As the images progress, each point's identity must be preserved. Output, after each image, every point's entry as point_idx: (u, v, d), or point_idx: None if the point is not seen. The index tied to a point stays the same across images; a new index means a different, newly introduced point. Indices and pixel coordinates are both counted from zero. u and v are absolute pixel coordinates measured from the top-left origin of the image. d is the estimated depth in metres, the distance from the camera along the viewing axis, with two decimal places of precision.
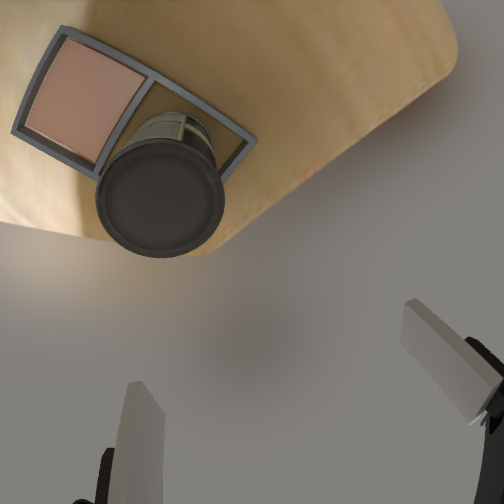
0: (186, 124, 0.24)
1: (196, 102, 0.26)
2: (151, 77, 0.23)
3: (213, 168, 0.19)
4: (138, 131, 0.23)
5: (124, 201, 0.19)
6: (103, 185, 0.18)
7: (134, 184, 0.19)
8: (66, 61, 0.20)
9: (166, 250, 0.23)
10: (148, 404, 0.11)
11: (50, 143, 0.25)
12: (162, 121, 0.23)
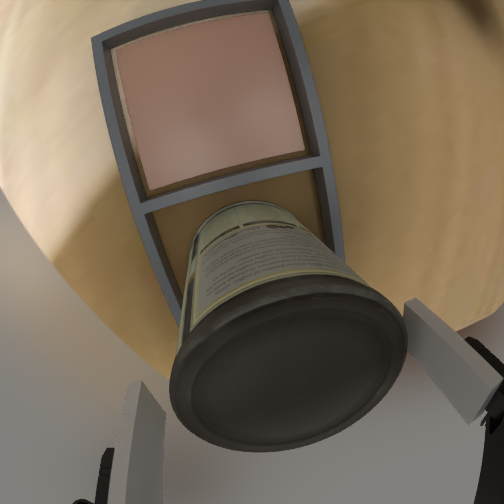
0: None
1: (336, 233, 0.21)
2: (321, 159, 0.19)
3: (395, 380, 0.11)
4: (282, 224, 0.15)
5: (259, 364, 0.09)
6: (257, 316, 0.08)
7: (306, 350, 0.09)
8: (241, 32, 0.16)
9: (236, 442, 0.11)
10: (148, 404, 0.11)
11: (119, 106, 0.16)
12: (316, 237, 0.16)
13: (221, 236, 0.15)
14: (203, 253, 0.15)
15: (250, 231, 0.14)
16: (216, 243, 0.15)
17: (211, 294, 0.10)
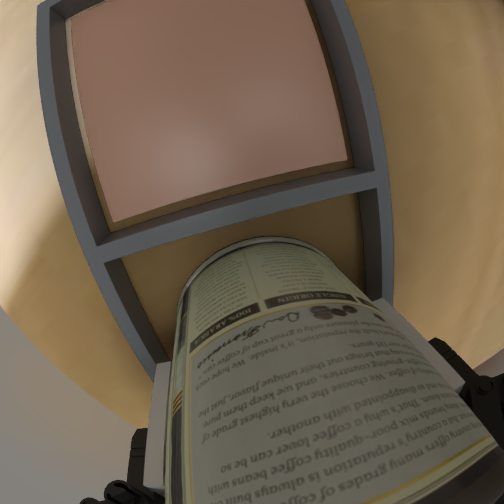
0: None
1: (387, 282, 0.14)
2: (376, 176, 0.12)
3: None
4: (336, 301, 0.08)
5: None
6: None
7: None
8: None
9: None
10: None
11: (68, 95, 0.09)
12: None
13: (227, 327, 0.08)
14: (195, 355, 0.08)
15: (284, 328, 0.07)
16: (219, 343, 0.08)
17: None
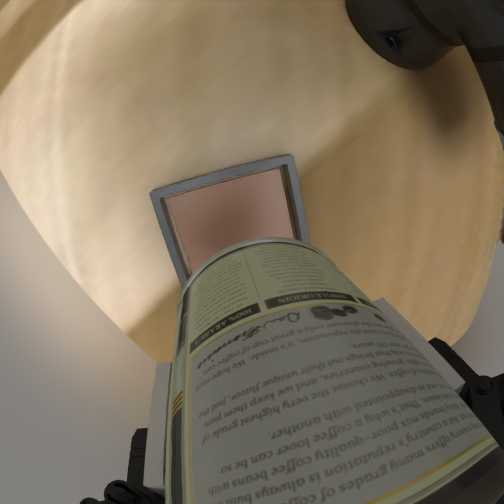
0: None
1: None
2: None
3: None
4: (336, 301, 0.08)
5: None
6: None
7: None
8: (259, 188, 0.29)
9: None
10: None
11: (177, 244, 0.29)
12: (381, 311, 0.09)
13: (227, 327, 0.08)
14: (195, 355, 0.08)
15: (284, 328, 0.07)
16: (219, 343, 0.08)
17: None
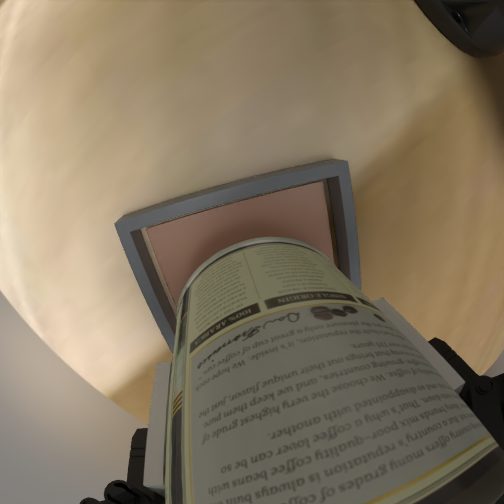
0: None
1: None
2: None
3: None
4: (336, 301, 0.08)
5: None
6: None
7: None
8: (291, 213, 0.18)
9: None
10: None
11: (164, 297, 0.19)
12: None
13: (228, 327, 0.08)
14: (195, 355, 0.08)
15: (284, 328, 0.07)
16: (219, 343, 0.08)
17: None
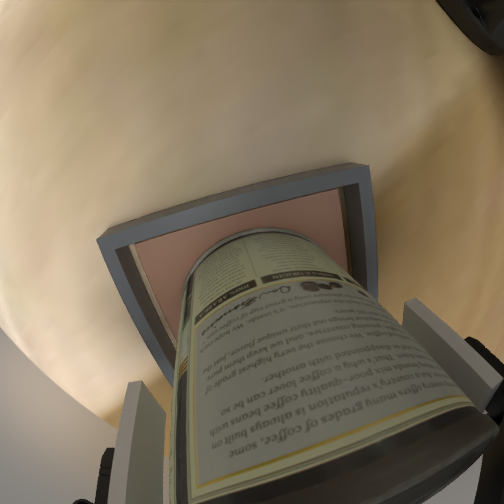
0: None
1: None
2: None
3: (456, 477, 0.05)
4: (323, 278, 0.10)
5: None
6: None
7: None
8: (303, 225, 0.16)
9: None
10: (148, 404, 0.11)
11: (157, 321, 0.16)
12: (366, 291, 0.11)
13: (228, 300, 0.09)
14: (200, 325, 0.09)
15: (277, 297, 0.09)
16: (220, 313, 0.09)
17: (221, 450, 0.04)
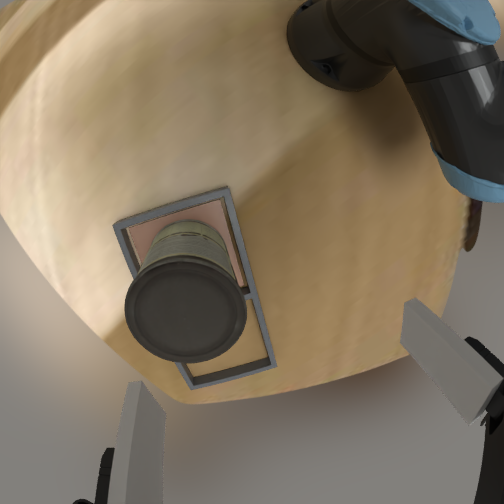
0: (228, 256, 0.29)
1: (263, 328, 0.39)
2: (251, 294, 0.36)
3: (245, 319, 0.23)
4: (191, 233, 0.27)
5: (161, 295, 0.21)
6: (155, 271, 0.20)
7: (181, 289, 0.21)
8: (203, 217, 0.34)
9: (160, 350, 0.23)
10: (148, 404, 0.11)
11: (138, 266, 0.34)
12: (213, 240, 0.29)
13: (159, 241, 0.27)
14: (149, 250, 0.27)
15: (171, 238, 0.26)
16: (156, 244, 0.27)
17: (144, 265, 0.22)
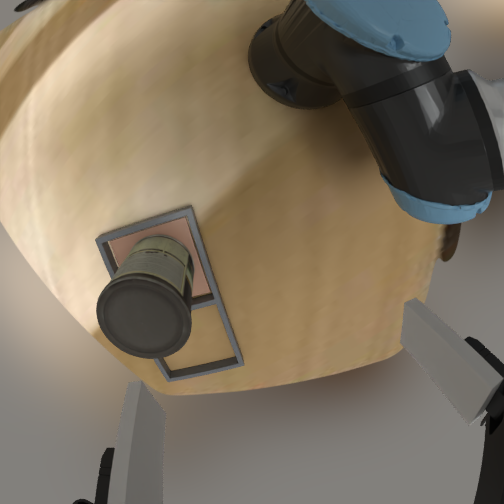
0: (187, 269, 0.33)
1: (228, 330, 0.43)
2: (215, 300, 0.40)
3: (190, 326, 0.27)
4: (154, 250, 0.32)
5: (123, 304, 0.25)
6: (117, 285, 0.24)
7: (137, 300, 0.25)
8: (171, 233, 0.38)
9: (126, 347, 0.27)
10: (148, 404, 0.11)
11: None
12: (174, 256, 0.33)
13: (129, 256, 0.31)
14: None
15: (137, 254, 0.30)
16: (126, 259, 0.31)
17: (111, 279, 0.26)
